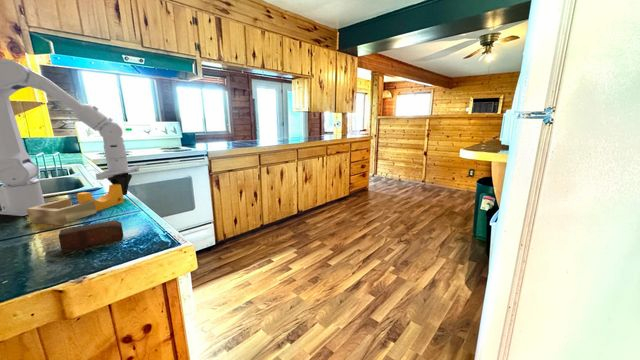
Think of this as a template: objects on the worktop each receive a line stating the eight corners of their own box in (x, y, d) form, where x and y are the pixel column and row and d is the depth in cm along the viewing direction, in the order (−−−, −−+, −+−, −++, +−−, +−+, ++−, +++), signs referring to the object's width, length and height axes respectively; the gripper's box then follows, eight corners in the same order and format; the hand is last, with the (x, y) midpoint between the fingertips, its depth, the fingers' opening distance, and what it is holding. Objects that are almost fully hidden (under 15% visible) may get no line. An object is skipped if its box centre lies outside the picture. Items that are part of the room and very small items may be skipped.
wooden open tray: (30, 222, 70) (26, 208, 69) (68, 210, 79) (65, 198, 78) (60, 225, 69) (57, 211, 68) (96, 212, 78) (94, 200, 77)
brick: (62, 255, 54) (57, 235, 53) (64, 248, 57) (60, 228, 56) (124, 241, 60) (121, 222, 59) (123, 235, 63) (120, 217, 62)
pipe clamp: (113, 201, 89) (110, 183, 87) (124, 202, 88) (120, 184, 87) (76, 213, 77) (71, 193, 76) (88, 214, 77) (83, 194, 75)
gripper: (105, 161, 81) (113, 201, 84) (143, 155, 95) (149, 189, 98) (87, 160, 82) (95, 200, 85) (127, 154, 96) (133, 188, 99)
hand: (123, 194), depth 92 cm, fingers closed
